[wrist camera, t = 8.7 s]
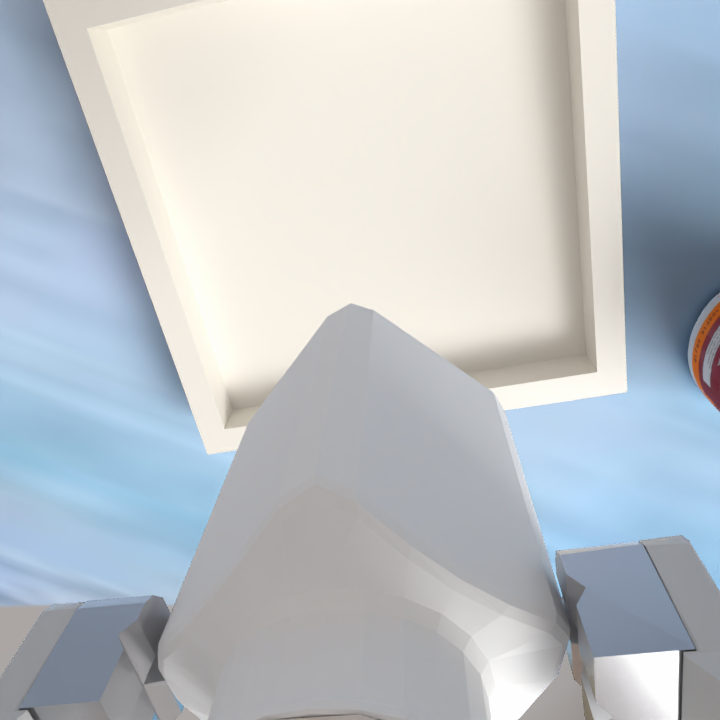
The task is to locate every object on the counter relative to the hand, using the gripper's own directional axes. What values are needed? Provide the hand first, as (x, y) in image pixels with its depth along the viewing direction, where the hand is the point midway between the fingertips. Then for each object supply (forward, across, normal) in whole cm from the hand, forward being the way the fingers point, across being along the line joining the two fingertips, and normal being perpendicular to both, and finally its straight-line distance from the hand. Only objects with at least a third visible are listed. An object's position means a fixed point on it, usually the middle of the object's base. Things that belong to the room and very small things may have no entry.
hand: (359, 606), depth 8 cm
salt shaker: (+5, 0, 0) cm, 5 cm away
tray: (+17, 0, -2) cm, 17 cm away
